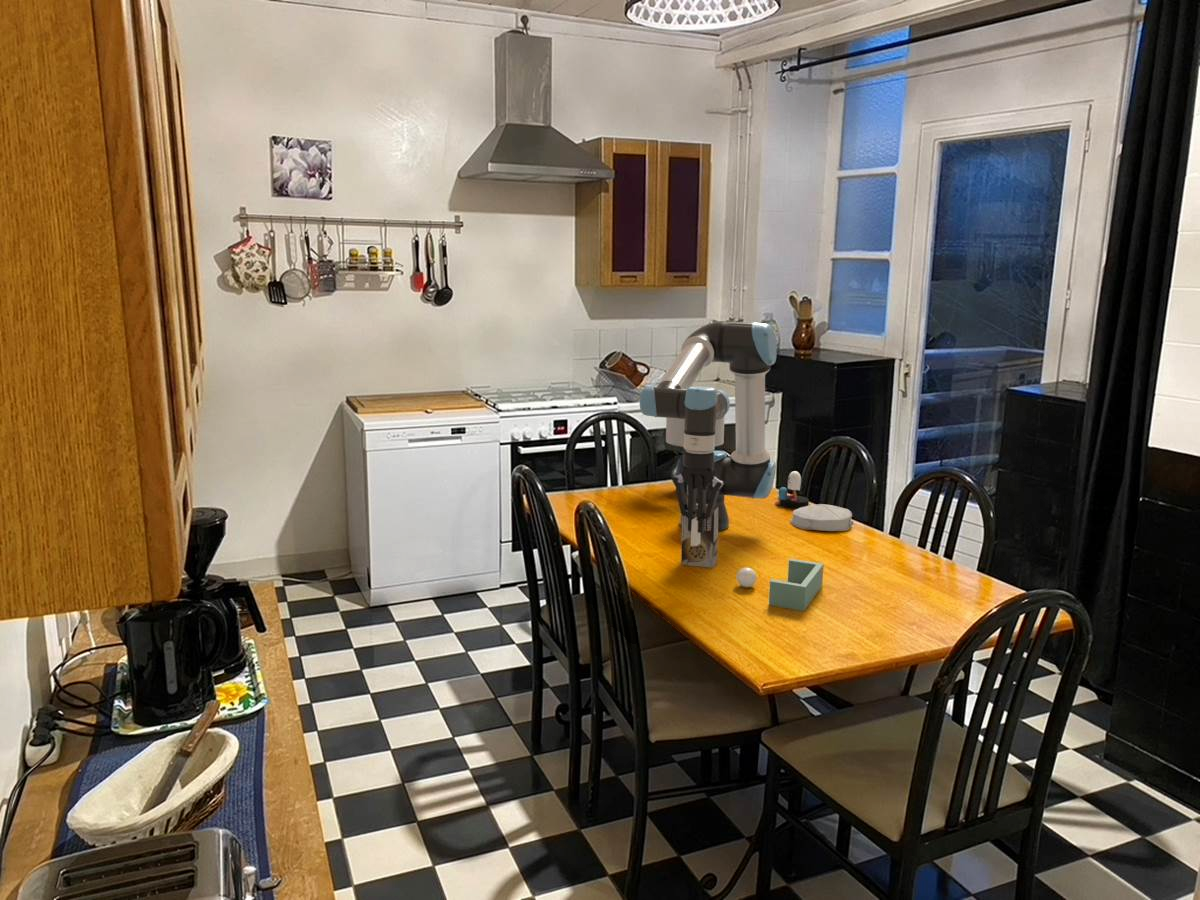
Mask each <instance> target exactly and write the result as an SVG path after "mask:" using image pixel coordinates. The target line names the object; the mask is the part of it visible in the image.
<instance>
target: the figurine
mask: <svg viewBox="0 0 1200 900" xmlns="http://www.w3.org/2000/svg"><path fill="white" fill-rule="evenodd" d="M801 483H802V477H801V474H800V473H799V472H798V471H796V470H794V471H791V472H790V473H789V475H788V476H787V488H786V487H784V486H782V487H780V488H779V489H778V496H777V499H778V501H775V502H774V504H775V505H777V506H780V507H782V508H785V509H790V510H796V509H798V508H801V507H805V506H809V505H810V503H809V502H810V501H809V498H807V497H805V496H801V495H797V494H798V493H797V491H800V490H801ZM788 490H792V494H790V495H788Z"/></svg>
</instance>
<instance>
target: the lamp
mask: <svg viewBox="0 0 1200 900" xmlns="http://www.w3.org/2000/svg"><path fill="white" fill-rule="evenodd" d="M720 390H721V389H720ZM721 391H723V392H724V393H725V394H726V391H725V390H721ZM726 395H727V394H726ZM725 416H726V414H725V415H724V417H722V418H721V419H718V420H716V426H715V447H719V446H722V445H723V444H724V443H725V441H724V438H725V437H724V436H725V418H726V417H725ZM665 419H666V422H665V423H666V424H665V442H666V443H667V444H669V445H672V446H676V447H683V448H684V423H685V419H680V418H665ZM682 469H683V454H682V455H681V456H680V457H679V458H678V461H677V464H676V469H675V476H677V475H679V474H681V471H682ZM683 484H684V489H685V494H687V483H686V482H685V480H684V479H683Z"/></svg>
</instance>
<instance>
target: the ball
mask: <svg viewBox="0 0 1200 900" xmlns="http://www.w3.org/2000/svg"><path fill="white" fill-rule="evenodd" d="M757 579H758V576H757V573H756V572H755V570H754V569H752V568H751V567H743V568H741V569H740V570H738V572H737V574H736V581H737V583H738V584H739V585H740V586H741V587H743V588H751V587H753V586H755V585H756V583H757Z"/></svg>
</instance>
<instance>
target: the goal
mask: <svg viewBox="0 0 1200 900" xmlns="http://www.w3.org/2000/svg"><path fill="white" fill-rule="evenodd" d="M787 570H788V571H787V581H785V580H778V579H772V578H771V580H770V581H769V593H768V594H769V598H768V606H771V607H772V606H773V607H777V608H783V609H789V610H795V611H801V612H805V610H806V609H807V608H808V606H809V605H811V602H812V601H813V600H814V599H815V597H816V595H817V594H818V593H819V591H820V590H821V589H822V587H823V579H824V563H821V562H815V561H807V560H802V559H801V560H800V559H795V558H790V559H789V560H788V569H787Z"/></svg>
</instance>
